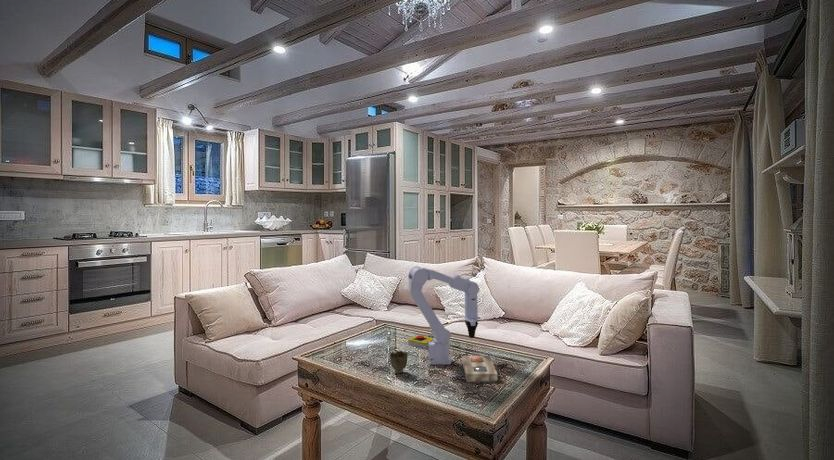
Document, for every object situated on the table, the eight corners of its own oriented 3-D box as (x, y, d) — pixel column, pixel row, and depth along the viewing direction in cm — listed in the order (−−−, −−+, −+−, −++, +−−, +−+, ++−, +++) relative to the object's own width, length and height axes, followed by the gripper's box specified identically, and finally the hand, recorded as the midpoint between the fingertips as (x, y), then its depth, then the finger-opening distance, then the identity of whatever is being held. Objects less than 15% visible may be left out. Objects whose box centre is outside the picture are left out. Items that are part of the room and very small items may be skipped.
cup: (394, 377, 160) (394, 357, 160) (387, 371, 167) (386, 352, 167) (411, 373, 164) (410, 354, 164) (403, 367, 170) (403, 349, 170)
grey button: (475, 377, 157) (475, 370, 157) (474, 373, 162) (474, 366, 162) (486, 377, 157) (486, 370, 157) (485, 373, 162) (484, 365, 162)
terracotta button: (472, 366, 167) (472, 359, 167) (471, 362, 172) (471, 355, 172) (483, 366, 167) (482, 359, 167) (481, 362, 172) (481, 355, 171)
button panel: (466, 381, 155) (466, 374, 155) (462, 362, 175) (462, 356, 175) (497, 381, 154) (497, 373, 154) (489, 362, 174) (489, 355, 174)
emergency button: (415, 332, 210) (439, 336, 200) (416, 340, 210) (439, 345, 201) (404, 336, 202) (428, 341, 193) (404, 345, 202) (428, 350, 193)
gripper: (482, 311, 172) (482, 342, 173) (478, 303, 187) (478, 332, 187) (465, 311, 173) (466, 342, 173) (462, 304, 187) (463, 332, 188)
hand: (471, 337), depth 180 cm, fingers closed
